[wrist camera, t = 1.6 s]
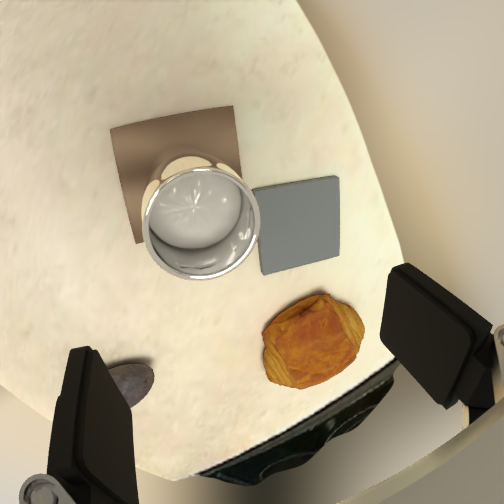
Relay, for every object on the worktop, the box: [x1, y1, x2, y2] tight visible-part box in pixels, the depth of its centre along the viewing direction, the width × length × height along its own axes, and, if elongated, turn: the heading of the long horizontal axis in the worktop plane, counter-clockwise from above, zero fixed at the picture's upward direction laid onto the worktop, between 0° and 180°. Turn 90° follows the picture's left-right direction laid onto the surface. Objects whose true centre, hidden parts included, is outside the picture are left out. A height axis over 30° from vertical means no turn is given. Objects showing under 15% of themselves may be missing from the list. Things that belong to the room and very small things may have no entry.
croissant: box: [262, 294, 365, 389], centre depth 42 cm, size 14×16×8 cm
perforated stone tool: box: [108, 364, 154, 408], centre depth 35 cm, size 15×5×7 cm, turn 109°
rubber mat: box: [252, 176, 340, 275], centre depth 36 cm, size 10×10×1 cm
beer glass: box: [141, 145, 261, 281], centre depth 24 cm, size 7×7×15 cm
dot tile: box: [110, 106, 242, 244], centre depth 30 cm, size 12×12×1 cm
